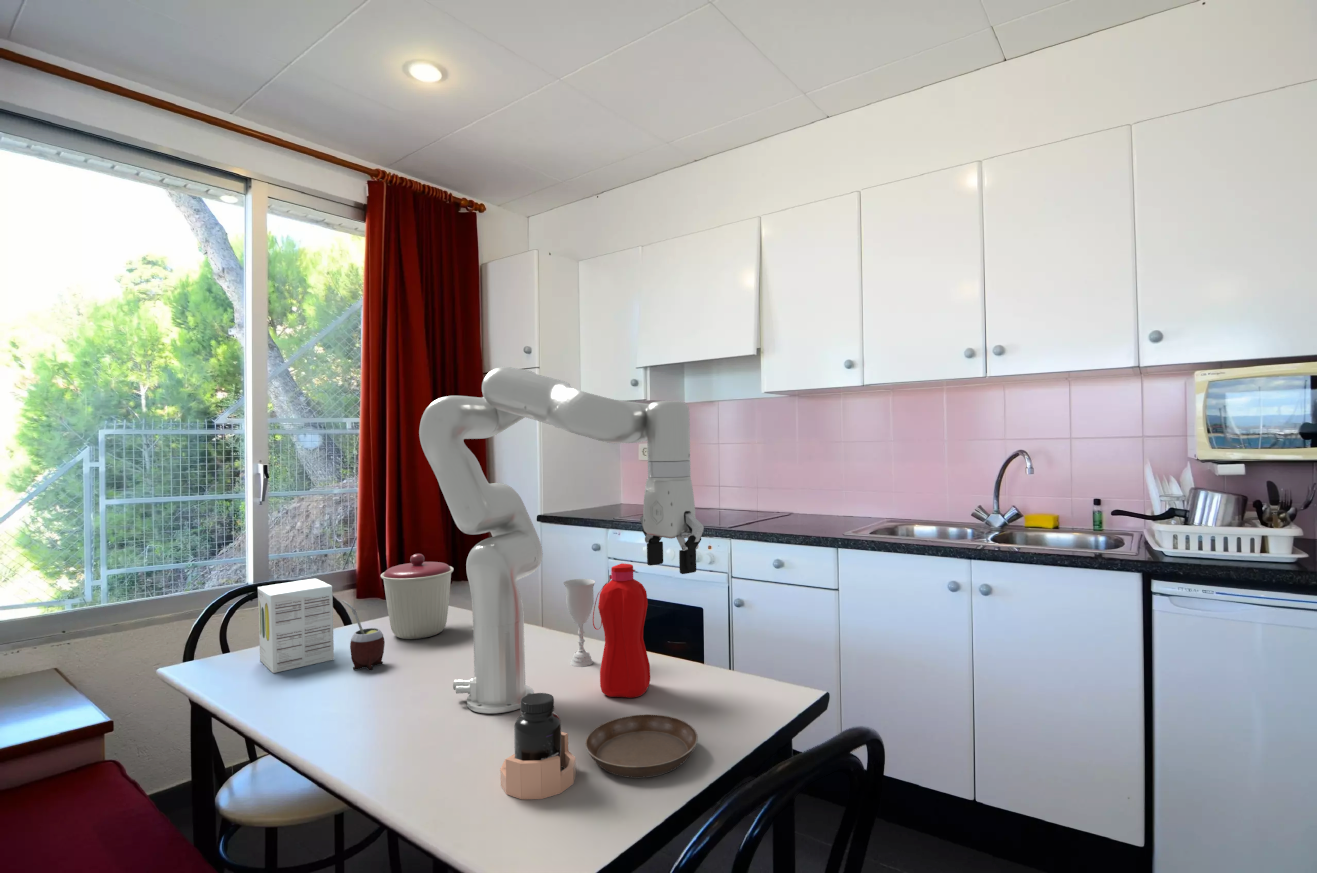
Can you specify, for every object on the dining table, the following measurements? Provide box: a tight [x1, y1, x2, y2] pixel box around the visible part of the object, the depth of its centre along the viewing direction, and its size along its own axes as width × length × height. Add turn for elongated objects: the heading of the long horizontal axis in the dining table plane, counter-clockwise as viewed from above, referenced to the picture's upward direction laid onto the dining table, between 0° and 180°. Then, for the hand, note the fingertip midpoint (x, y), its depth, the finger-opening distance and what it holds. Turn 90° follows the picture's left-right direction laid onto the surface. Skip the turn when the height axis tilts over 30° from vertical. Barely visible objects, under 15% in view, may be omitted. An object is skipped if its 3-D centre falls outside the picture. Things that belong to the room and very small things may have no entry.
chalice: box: [563, 578, 596, 668], centre depth 149 cm, size 7×7×18 cm
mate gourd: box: [342, 599, 385, 672], centre depth 151 cm, size 8×8×15 cm
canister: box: [380, 553, 454, 640], centre depth 176 cm, size 18×18×21 cm
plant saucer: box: [584, 713, 699, 779], centre depth 105 cm, size 18×18×3 cm
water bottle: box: [592, 562, 651, 699], centre depth 132 cm, size 9×11×25 cm
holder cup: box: [499, 731, 577, 800], centre depth 98 cm, size 11×11×5 cm
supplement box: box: [257, 577, 335, 674], centre depth 157 cm, size 13×13×18 cm
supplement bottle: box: [513, 692, 563, 772], centre depth 98 cm, size 7×7×12 cm
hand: (671, 568), depth 117 cm, fingers open, 9 cm apart
